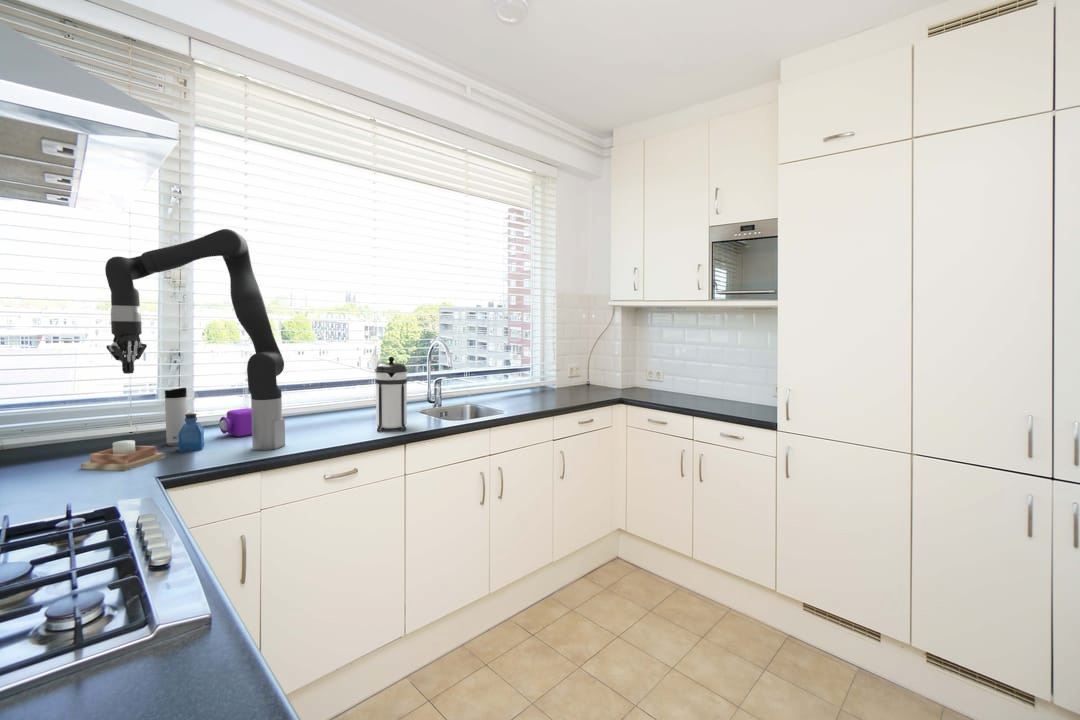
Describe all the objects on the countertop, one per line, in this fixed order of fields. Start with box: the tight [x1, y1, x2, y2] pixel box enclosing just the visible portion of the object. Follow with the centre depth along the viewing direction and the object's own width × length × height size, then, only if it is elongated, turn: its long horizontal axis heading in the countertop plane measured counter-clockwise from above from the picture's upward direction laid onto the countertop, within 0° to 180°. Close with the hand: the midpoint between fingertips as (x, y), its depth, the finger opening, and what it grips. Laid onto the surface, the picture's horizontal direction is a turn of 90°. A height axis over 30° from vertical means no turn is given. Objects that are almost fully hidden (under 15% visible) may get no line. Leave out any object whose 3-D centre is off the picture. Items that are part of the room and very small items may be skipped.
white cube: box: [112, 439, 136, 455], centre depth 152 cm, size 5×5×5 cm
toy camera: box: [218, 407, 252, 438], centre depth 190 cm, size 11×14×10 cm
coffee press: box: [374, 356, 409, 433], centre depth 206 cm, size 17×16×30 cm
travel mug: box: [164, 387, 189, 447], centre depth 175 cm, size 6×7×20 cm
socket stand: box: [80, 445, 166, 471], centre depth 152 cm, size 14×14×4 cm
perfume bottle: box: [178, 412, 205, 453], centre depth 169 cm, size 6×6×12 cm
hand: (128, 373), depth 162 cm, fingers closed
